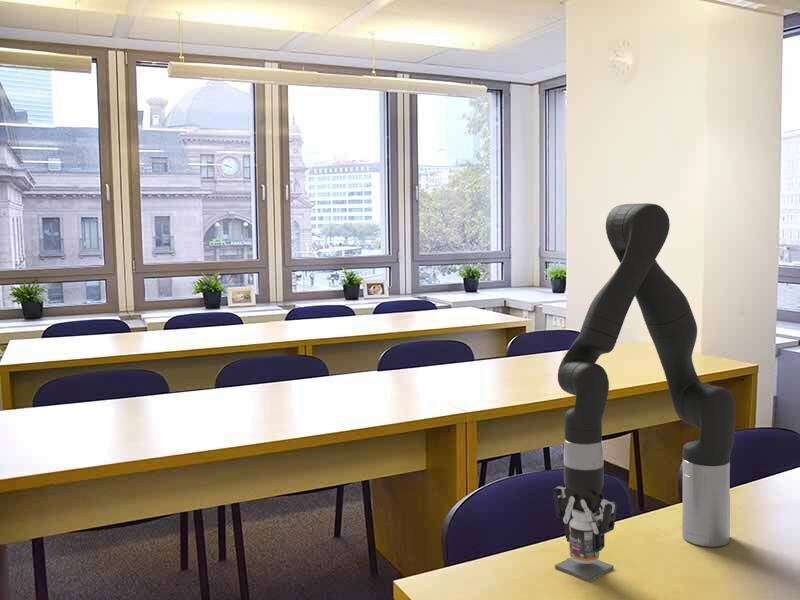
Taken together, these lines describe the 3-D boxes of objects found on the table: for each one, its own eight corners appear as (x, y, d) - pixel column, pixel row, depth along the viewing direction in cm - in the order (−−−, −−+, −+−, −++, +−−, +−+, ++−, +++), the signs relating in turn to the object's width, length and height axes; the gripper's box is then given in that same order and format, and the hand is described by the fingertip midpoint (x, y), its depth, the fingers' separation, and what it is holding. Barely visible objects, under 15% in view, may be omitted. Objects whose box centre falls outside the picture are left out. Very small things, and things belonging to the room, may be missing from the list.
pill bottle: (563, 555, 148) (562, 507, 147) (587, 550, 150) (586, 502, 149) (581, 567, 142) (580, 517, 141) (605, 560, 145) (605, 511, 144)
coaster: (579, 555, 152) (579, 552, 152) (613, 568, 146) (613, 565, 146) (555, 567, 147) (554, 565, 147) (588, 581, 141) (588, 578, 141)
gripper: (626, 465, 141) (627, 551, 143) (565, 450, 152) (566, 530, 154) (603, 475, 136) (604, 563, 138) (541, 458, 148) (543, 540, 149)
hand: (584, 545), depth 146 cm, fingers closed on pill bottle, 5 cm apart
